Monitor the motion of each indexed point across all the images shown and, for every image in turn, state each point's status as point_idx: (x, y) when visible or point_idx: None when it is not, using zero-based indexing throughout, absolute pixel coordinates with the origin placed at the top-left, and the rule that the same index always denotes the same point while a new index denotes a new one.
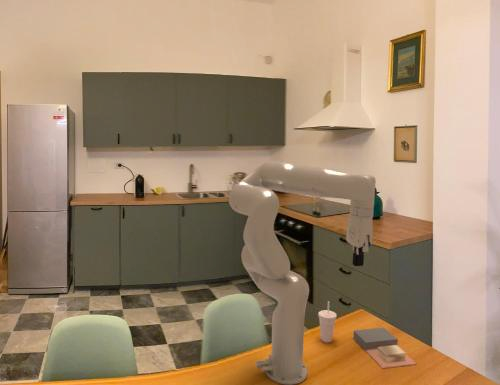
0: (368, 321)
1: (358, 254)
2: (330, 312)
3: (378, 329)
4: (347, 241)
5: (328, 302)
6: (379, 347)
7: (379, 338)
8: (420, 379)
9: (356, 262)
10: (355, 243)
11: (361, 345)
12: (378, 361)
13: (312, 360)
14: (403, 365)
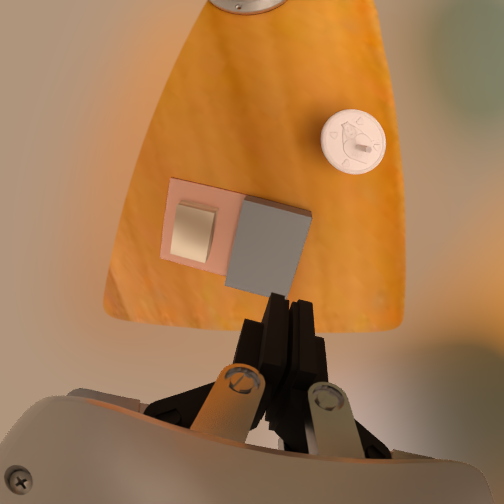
0: (356, 308)
1: (221, 376)
2: (357, 157)
3: (284, 281)
4: (443, 463)
5: (366, 147)
6: (211, 215)
7: (245, 248)
8: (121, 223)
9: (264, 320)
10: (129, 463)
11: (266, 200)
12: (192, 187)
13: (267, 46)
14: (163, 228)
